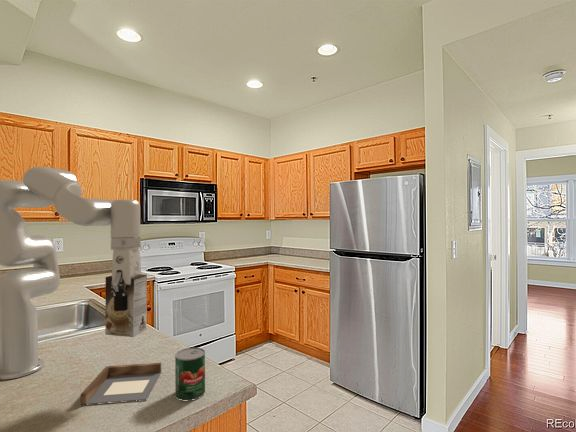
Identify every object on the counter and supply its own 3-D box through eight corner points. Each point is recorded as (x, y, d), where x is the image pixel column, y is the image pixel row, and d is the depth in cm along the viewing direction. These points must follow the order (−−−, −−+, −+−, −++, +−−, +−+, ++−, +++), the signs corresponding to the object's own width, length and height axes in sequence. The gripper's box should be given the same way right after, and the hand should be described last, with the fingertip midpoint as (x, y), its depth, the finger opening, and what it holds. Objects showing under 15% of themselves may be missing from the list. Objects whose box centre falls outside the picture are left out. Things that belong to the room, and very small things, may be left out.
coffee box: (103, 335, 91) (103, 276, 91) (120, 327, 98) (119, 272, 98) (133, 337, 90) (133, 277, 89) (148, 329, 96) (147, 273, 96)
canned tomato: (189, 404, 86) (188, 361, 86) (168, 396, 90) (168, 355, 90) (211, 390, 92) (211, 351, 92) (191, 383, 96) (191, 345, 96)
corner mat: (80, 405, 85) (80, 403, 85) (106, 375, 101) (106, 374, 101) (146, 400, 88) (146, 398, 88) (161, 372, 103) (161, 370, 103)
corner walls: (80, 405, 85) (80, 394, 85) (106, 375, 101) (106, 366, 101) (146, 400, 88) (146, 389, 88) (161, 372, 103) (161, 362, 103)
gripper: (129, 246, 85) (129, 314, 85) (148, 241, 103) (149, 298, 103) (98, 246, 84) (98, 316, 84) (122, 241, 102) (123, 299, 102)
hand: (126, 305), depth 94 cm, fingers closed on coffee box, 7 cm apart
